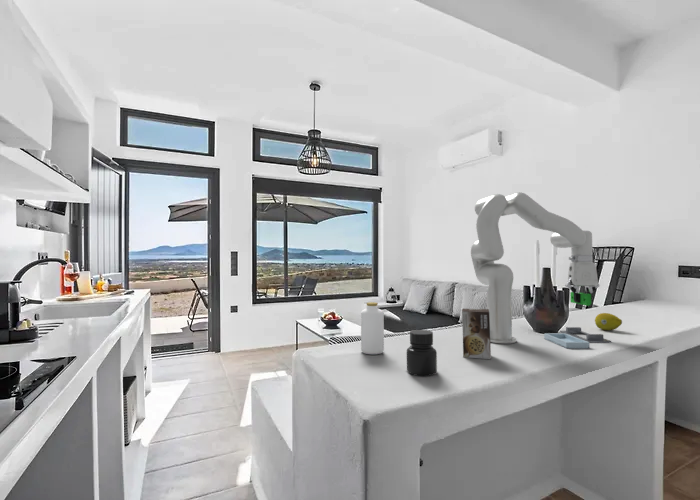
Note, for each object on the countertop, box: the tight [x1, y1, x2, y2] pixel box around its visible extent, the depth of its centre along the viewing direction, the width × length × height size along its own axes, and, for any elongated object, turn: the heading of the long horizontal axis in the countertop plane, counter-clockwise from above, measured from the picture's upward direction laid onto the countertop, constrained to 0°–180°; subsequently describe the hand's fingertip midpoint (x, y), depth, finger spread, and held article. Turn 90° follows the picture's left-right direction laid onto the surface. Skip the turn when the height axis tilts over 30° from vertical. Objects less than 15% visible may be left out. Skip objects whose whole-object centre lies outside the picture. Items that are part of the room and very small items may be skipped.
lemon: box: [594, 312, 623, 332], centre depth 163 cm, size 11×8×8 cm
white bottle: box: [360, 301, 385, 356], centre depth 129 cm, size 8×8×18 cm
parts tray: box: [543, 332, 591, 349], centre depth 139 cm, size 9×16×2 cm, turn 179°
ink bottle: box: [406, 329, 438, 377], centre depth 106 cm, size 10×9×12 cm
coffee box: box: [461, 308, 492, 360], centre depth 123 cm, size 9×6×16 cm
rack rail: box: [559, 326, 612, 344], centre depth 150 cm, size 9×20×3 cm, turn 178°
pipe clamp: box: [569, 291, 592, 307], centre depth 150 cm, size 11×4×5 cm, turn 179°
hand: (582, 301), depth 150 cm, fingers closed on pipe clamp, 3 cm apart
